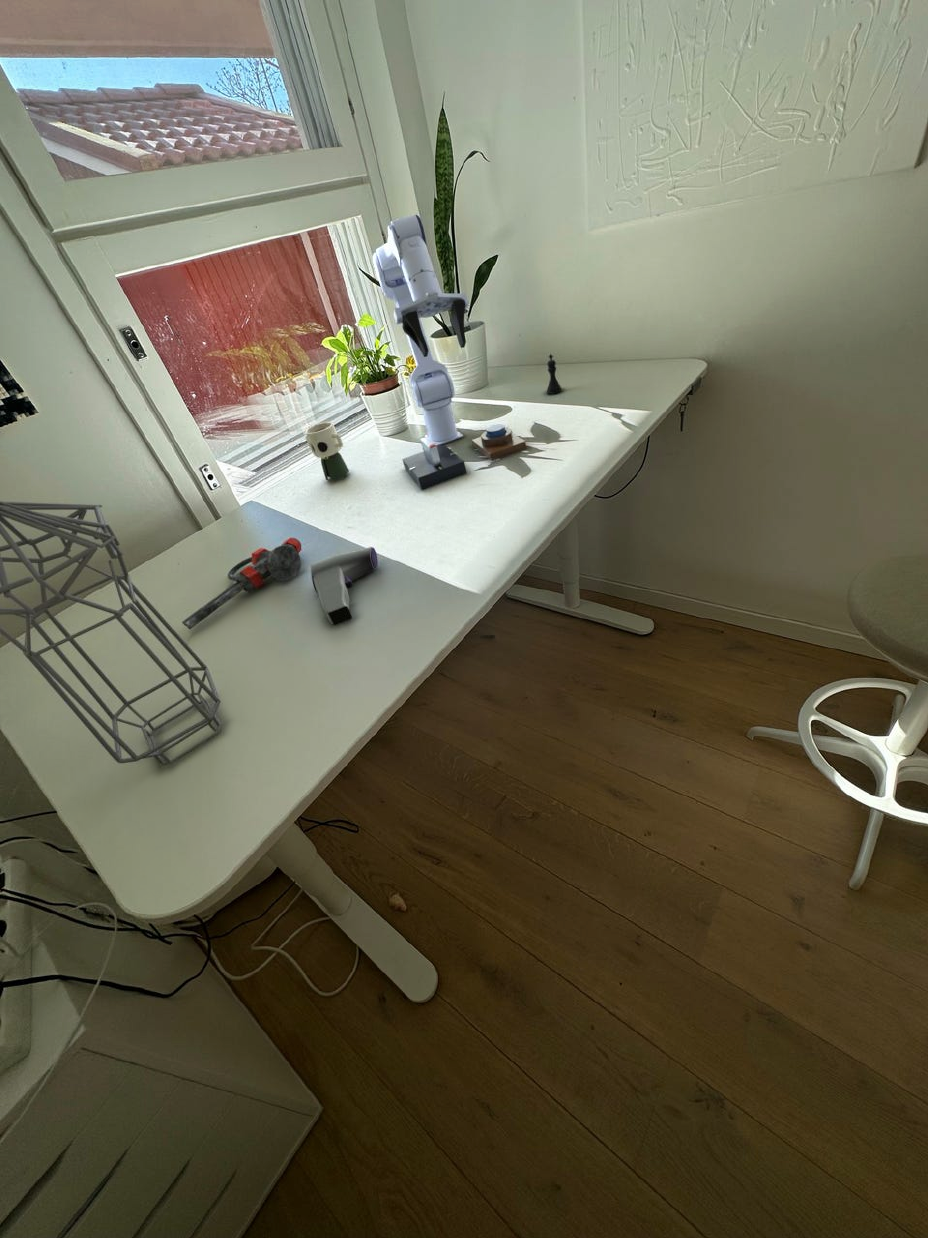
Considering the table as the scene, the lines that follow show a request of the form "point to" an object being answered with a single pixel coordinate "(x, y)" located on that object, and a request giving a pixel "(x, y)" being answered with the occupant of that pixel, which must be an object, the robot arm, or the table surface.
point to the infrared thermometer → (340, 580)
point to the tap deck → (434, 468)
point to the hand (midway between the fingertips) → (445, 349)
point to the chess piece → (553, 378)
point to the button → (495, 430)
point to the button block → (498, 444)
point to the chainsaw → (255, 575)
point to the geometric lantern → (43, 522)
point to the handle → (430, 452)
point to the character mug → (327, 449)
